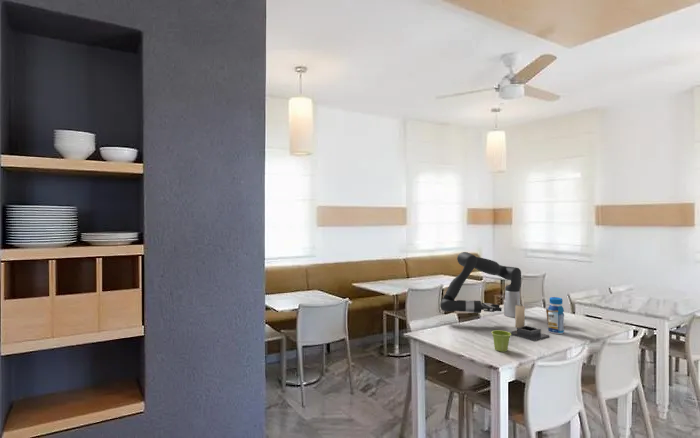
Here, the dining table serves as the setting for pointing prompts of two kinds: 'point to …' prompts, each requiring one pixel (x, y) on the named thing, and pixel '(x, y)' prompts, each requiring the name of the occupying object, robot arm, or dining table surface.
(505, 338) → the plant pot
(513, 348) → the dining table surface
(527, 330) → the black socket base
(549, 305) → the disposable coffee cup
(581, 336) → the dining table surface
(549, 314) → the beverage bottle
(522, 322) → the tan wooden block
